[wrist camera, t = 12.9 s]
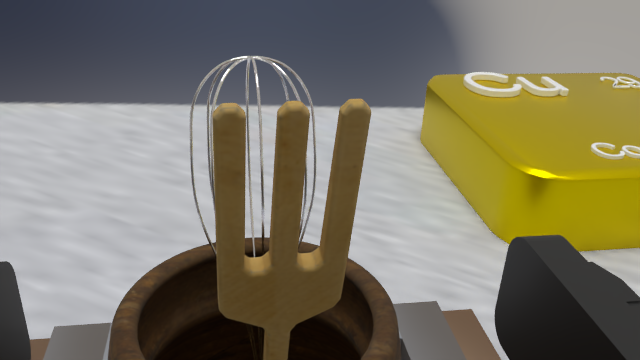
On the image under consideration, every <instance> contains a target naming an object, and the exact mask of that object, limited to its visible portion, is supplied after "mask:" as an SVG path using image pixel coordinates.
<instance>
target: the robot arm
mask: <svg viewBox="0 0 640 360" xmlns="http://www.w3.org/2000/svg"><path fill="white" fill-rule="evenodd" d="M495 327H496V332H497V336H498V339H499V342H500V344H501V346H502V348H503V350H504V351H505V353H506V355H507V356H508V358H509V360H640V297H639V296H638V295H637V294H636V293H635V292H634V291H633V290H632V289H631V288H630V287H629V286H628V285H627V284H626V283H625V282H624V281H623V280H622V279H620V278H618V277H617V276H615V275H613V274H612V273H610V272H608V271H607V270H605V269H603V268H602V267H600V266H598V265H597V264H595V263H593V262H588V261H587V260H586V259H585V258H584V257H583V256H582V255H581V254H580V253H579V252H578V251H577V250H576V249H575V248H574V247H573V246H572V245H571V244H570V243H569V242H568V241H567V239H565V238H564V237H563V236H561V235H542V236H522V237H515V238H514V239H513V240H512V241H511V243H510V245H509V248H508V252H507V256H506V261H505V266H504V270H503V275H502V280H501V284H500V289H499V294H498V299H497V303H496V308H495ZM0 360H31V345H30V339H29V334H28V330H27V325H26V321H25V316H24V312H23V307H22V303H21V298H20V294H19V289H18V285H17V280H16V276H15V272H14V269H13V267H12V265H11V264H10V263H9V262H0Z"/></svg>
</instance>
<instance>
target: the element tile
mask: <svg viewBox="0 0 640 360" xmlns="http://www.w3.org/2000/svg"><path fill="white" fill-rule="evenodd" d="M420 139H421V143H422V144H423V145H424V146H425V148H426V149H427V150H428V152H429V153H430V154H431V155H432V157H433V158H434V159H435V160H436V162H437V163H438V164H439V165H440V167H441V168H442V169H443V171H444V172H445V173H446V174H447V176H448V177H449V178H450V179H451V181H452V182H453V183H454V184H455V186H456V187H457V188H458V190H459V191H460V192H461V193H462V195H463V196H464V197H465V198H466V200H467V201H468V202H469V203H470V205H471V206H472V207H473V209H474V210H475V211H476V212H477V214H478V215H479V216H480V217H481V219H482V220H483V221H484V222H485V224H486V225H487V226H488V228H489V229H490V230H491V231H492V232H493V233H494V234H495V235H496V236H497V237H499V238H500V239H502V240H504V241H505V242H507V243H508V244H510V243H511V241H512V240H513V239H514V238H515V237H522V236H542V235H561V236H563V237H564V238H565V239H567V241H568V242H569V243H570V244H571V245H572V246H573V247H574V248H575V249H576V250H577V251H594V250H609V249H625V248H640V78H637V77H635V76H633V75H629V74H622V73H571V74H570V73H568V74H498V73H491V72H475V73H469V74H456V75H455V74H454V75H437V76H434V77H433V78H432V79H431V80H429V82H428V85H427V91H426V99H425V107H424V115H423V122H422V130H421V138H420Z"/></svg>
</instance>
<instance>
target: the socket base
mask: <svg viewBox="0 0 640 360" xmlns="http://www.w3.org/2000/svg"><path fill="white" fill-rule="evenodd" d="M393 306H394V309H395V312H396V316H397V320H398V328H399V336H400V345H401V360H501V359H500V357H499V355H498V354H497V352H496V350H495V349H494V347H493V345H492V343H491V342H490V340H489V338H488V337H487V335H486V333H485V331H484V330H483V328H482V326H481V325H480V323H479V321H478V319H477V318H476V316H475V314H474V313H473V311H472V309H467V310H453V311H441V309H440V307H439V305H438V303H437V301H432V302H417V303H402V304H393ZM111 326H112V323H102V324H87V325H72V326H57V327H54V330H53V332H52V335H51V338H49V339H34V340H30V345H31V360H108V350H109V341H110V333H111Z"/></svg>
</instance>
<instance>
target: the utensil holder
mask: <svg viewBox="0 0 640 360" xmlns="http://www.w3.org/2000/svg"><path fill="white" fill-rule="evenodd" d="M247 59H248V62H247V71H246V115H245V112H244V110H243V109H242V108H241V107H240V106H239V105H237V104H236V103H223V104H221V105H219V107H218V108H217V109H216V110H215V111H214V109H215V104H216V100H217V96H218V93H219V90H220V88H221V85H222V83H223V81H224V79H225V77H226V76H227V74H228V73H229V72H230V70H231V69H232V68H233V67H234V66H235V65H237V64H238V63H240V62H242V61H244V60H247ZM250 59H252V62H253V66H254V72H255V78H256V88H257V98H258V113H259V135H260V165H261V202H262V238H254V227H253V211H252V194H251V173H250V145H249V110H248V77H249V64H250ZM254 59H258V60H262V61H265V62H267V63H269V64H271V65H272V66H273V67H274V68H275V70H276V71H277V72H278V74H279V76H280V78H281V80H282V83H283V85H284V89H285V93H286V98H287V102H286V103H284V104H283V105H282V106H281V107H280V108H279V109H278V112H277V127H276V143H275V160H274V177H273V193H272V210H271V226H270V238H264V177H263V145H262V119H261V103H260V92H259V82H258V74H257V68H256V64H255V60H254ZM236 60H238V61H236ZM234 61H236V62H235V63H234V64H233V65H231V66H230V67H229V69H228V70H227V71H226V72H225V74H224V76H223V77H222V79H221V81H220V83H219V85H218V88H217V91H216V94H215V97H214V101H213V105H212V111H211V119H210V139H209V105H210V97H211V93H212V89H213V86H214V84H215V81H216V79H217V78H218V76H219V74H220V73H221V71H222V70H223V69H224V68H225V67H226V66H227V65H228V64H230V63H232V62H234ZM271 61H273V62H276V63H278V64H280V65H282V66H284V67H285V68H287V69H288V70H289V71H291V72H292V73H293V74H294V75H295V76H296V78H297V79H298V80H299V81H300V83H301V84H302V86H303V88H304V90H305V92H306V94H307V96H308V99H309V102H310V106H311V113H312V123H313V146H314V179H313V191H312V198H311V203H310V208H309V212H308V216H307V219H306V223H305V226H304V229H303V232H302V235H301V238H300V240H299V237H300V234H301V230H302V226H303V221H304V215H305V208H306V196H307V154H306V152H307V141H308V129H309V118H310V113H309V110H308V108H307V107H306V106H305V105H304V104H303V103H302V102H301V101H300V98H299V95H298V93H297V91H296V89H295V87H294V85H293V83H292V81H291V80H290V79H289V77H288V76H287V74H286V73H285V72H284V71H283V70H282V69H281V68H280V67H279V66H277V65H276V64H274V63H273V62H271ZM223 65H224V66H223ZM221 66H223V67H222V68H221V69H220V70H219V71H218V73H217V74H216V76H215V78H214V80H213V83H212V85H211V88H210V91H209V96H208V102H207V149H208V168H209V178H210V186H211V192H212V198H213V205H214V213H215V221H216V242H215V243H212V242H211V240H210V238H209V236H208V233H207V231H206V228H205V226H204V223H203V220H202V217H201V214H200V210H199V206H198V202H197V197H196V191H195V184H194V172H193V143H192V121H193V109H194V105H195V101H196V98H197V95H198V93H199V91H200V89H201V87H202V85H203V84H204V82H205V81H206V80H207V78H208V77H209V76H210V75H211V74H212V73H213V72H214V71H216V70H217V69H218V68H220V67H221ZM280 72H281V73H282V74H283V75H284V76H285V77H286V78H287V80H288V81H289V83H290V85H291V86H292V88H293V91H294V93H295V95H296V97H297V100H298V101H289V96H288V92H287V88H286V85H285V82H284V79H283V77H282V75H281V73H280ZM370 117H371V110H370V108H369V106H368V105H367V103H366V102H365V101H364V100H363V99H349V100H348V101H347V102H346V103H345V104H343V105H342V106H341V107H340V110H339V117H338V124H337V131H336V138H335V145H334V151H333V158H332V165H331V172H330V179H329V186H328V193H327V200H326V207H325V213H324V220H323V227H322V234H321V241H320V246H318V245H314V244H310V243H306V242H301V241H302V239H303V236H304V233H305V230H306V227H307V224H308V220H309V217H310V214H311V209H312V205H313V200H314V193H315V183H316V138H315V119H314V109H313V104H312V100H311V97H310V95H309V93H308V90H307V88H306V86H305V85H304V83H303V81H302V80H301V79H300V77H299V76H298V75H297V74H296V73H295V72H294V71H293V70H292V69H291V68H290V67H288V66H286V65H285V64H284V63H281V62H280V61H277V60H274V59H271V58H267V57H262V56H242V57H237V58H234V59H230V60H228V61H225V62H223V63H221V64H220V65H218V66H217V67H215V68H214V69H213V70H212V71H211V72H209V74H207V76H206V77H205V78H204V79H203V81H202V82H201V84H200V86H199V87H198V89H197V92H196V94H195V96H194V99H193V102H192V106H191V112H190V162H191V178H192V187H193V194H194V200H195V204H196V209H197V212H198V215H199V219H200V222H201V224H202V227H203V230H204V232H205V235H206V237H207V239H208V241H209V244H207V245H203V246H200V247H196V248H193V249H191V250H188V251H185V252H183V253H180V254H178V255H176V256H174V257H172V258H170V259H168V260H166V261H164V262H163V263H161V264H159V265H158V266H156V267H155V268H153V269H152V270H150V271H149V272H148V273H146V274H145V275H144V276H143V277H142V278H141V279H139V280H138V281H137V282H136V283H135V284H134V285H133V286H132V288H131V289H130V290H129V291H128V292H127V294H126V295H125V297H124V298H123V300H122V301H121V303H120V305H119V307H118V309H117V311H116V313H115V316H114V319H113V323H112V326H111V333H110V341H109V350H108V360H401V345H400V336H399V328H398V320H397V316H396V312H395V309H394V306H393V303H392V301H391V299H390V297H389V295H388V294H387V292H386V291H385V289H384V288H383V287H382V285H381V284H380V283H379V282H378V281H377V280H376V278H375V277H374V276H372V275H371V274H370V273H369V272H368V271H367V270H365V269H364V268H363V267H362V266H360V265H359V264H357V263H356V262H354V261H352V260H351V259H349V258H348V252H349V246H350V240H351V234H352V227H353V221H354V215H355V209H356V203H357V197H358V191H359V184H360V178H361V172H362V166H363V160H364V154H365V148H366V141H367V135H368V129H369V123H370ZM246 118H247V150H248V177H249V197H250V214H251V229H252V238H245V148H246ZM210 151H211V164H210ZM213 151H214V166H213ZM304 175H305V183H304ZM214 186H215V188H214ZM303 186H304V204H303V212H302V218H301V209H302V198H303ZM300 221H301V223H300Z"/></svg>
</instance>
